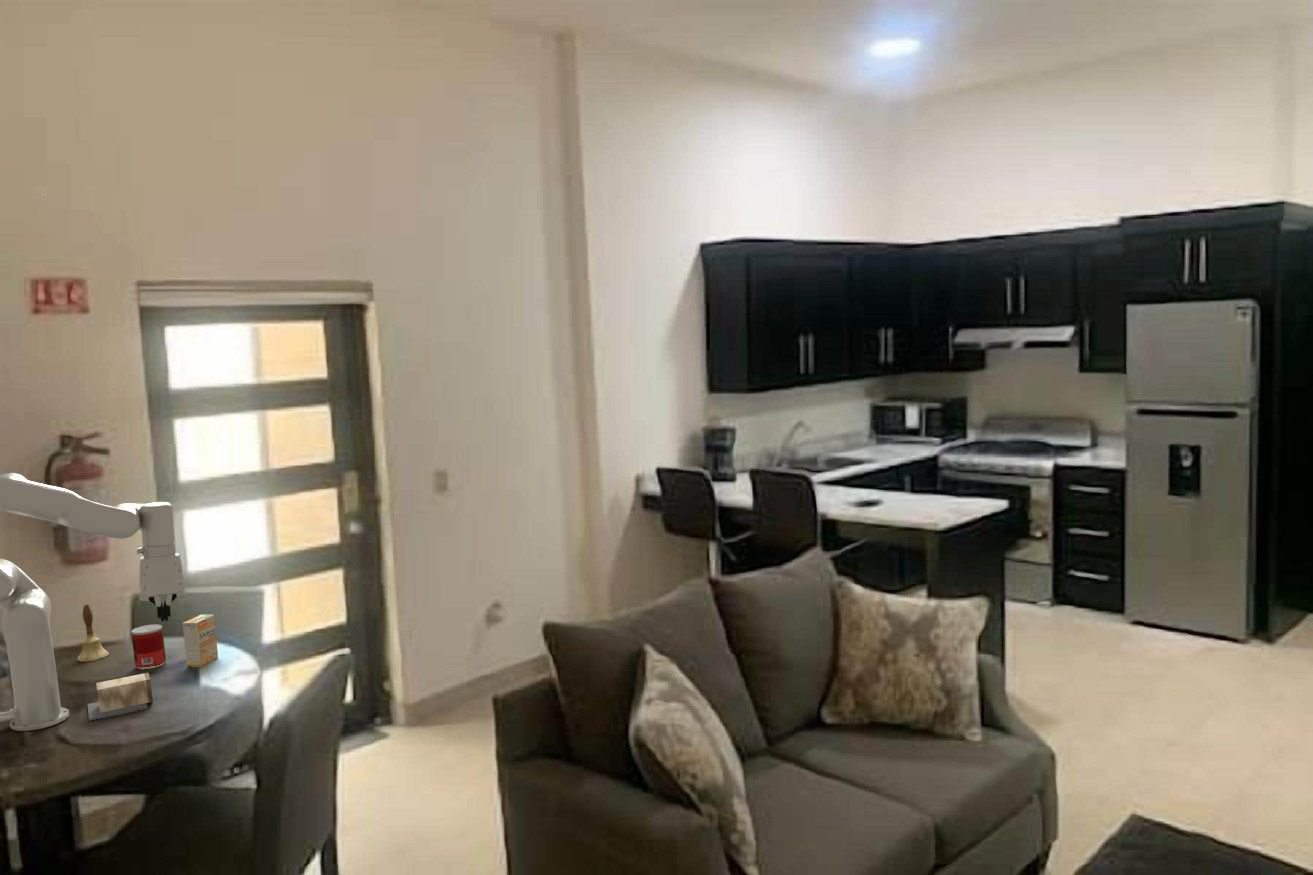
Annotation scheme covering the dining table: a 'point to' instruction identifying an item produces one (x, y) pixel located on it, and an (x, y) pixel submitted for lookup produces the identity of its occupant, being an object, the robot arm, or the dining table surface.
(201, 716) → the dining table surface
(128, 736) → the dining table surface
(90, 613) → the hand bell
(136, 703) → the maple block
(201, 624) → the supplement box
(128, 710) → the mat
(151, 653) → the canned food
